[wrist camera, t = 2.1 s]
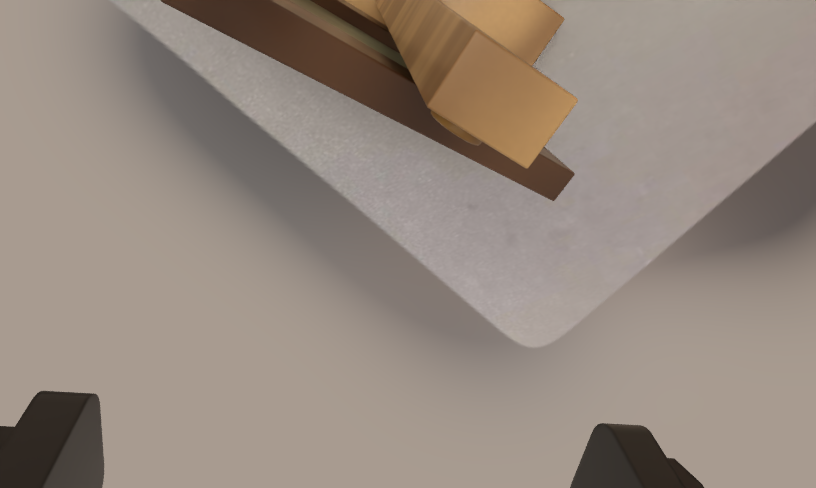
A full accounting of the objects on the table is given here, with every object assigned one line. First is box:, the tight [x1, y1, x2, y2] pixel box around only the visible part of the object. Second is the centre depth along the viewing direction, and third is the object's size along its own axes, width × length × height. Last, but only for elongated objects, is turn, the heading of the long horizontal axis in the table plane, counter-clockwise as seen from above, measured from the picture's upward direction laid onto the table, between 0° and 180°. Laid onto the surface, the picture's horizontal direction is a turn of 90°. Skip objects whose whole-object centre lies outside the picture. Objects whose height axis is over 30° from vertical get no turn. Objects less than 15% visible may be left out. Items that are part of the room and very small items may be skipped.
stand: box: [345, 0, 578, 168], centre depth 24 cm, size 16×8×23 cm, turn 57°
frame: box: [161, 0, 574, 201], centre depth 24 cm, size 16×1×12 cm, turn 57°
